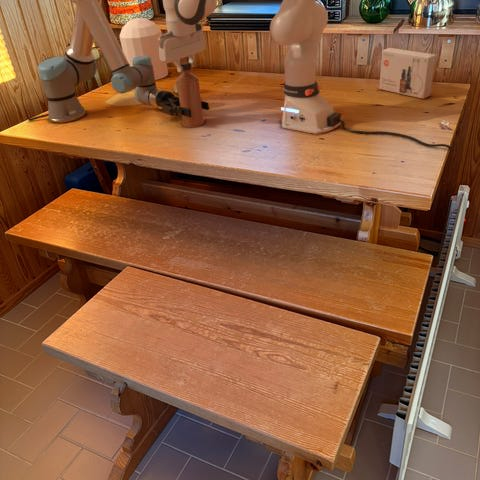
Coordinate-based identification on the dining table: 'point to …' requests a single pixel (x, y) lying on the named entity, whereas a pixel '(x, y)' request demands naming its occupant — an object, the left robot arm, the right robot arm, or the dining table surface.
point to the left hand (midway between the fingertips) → (199, 109)
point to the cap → (186, 65)
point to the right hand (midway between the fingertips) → (185, 69)
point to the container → (143, 44)
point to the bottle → (190, 98)
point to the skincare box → (407, 72)
